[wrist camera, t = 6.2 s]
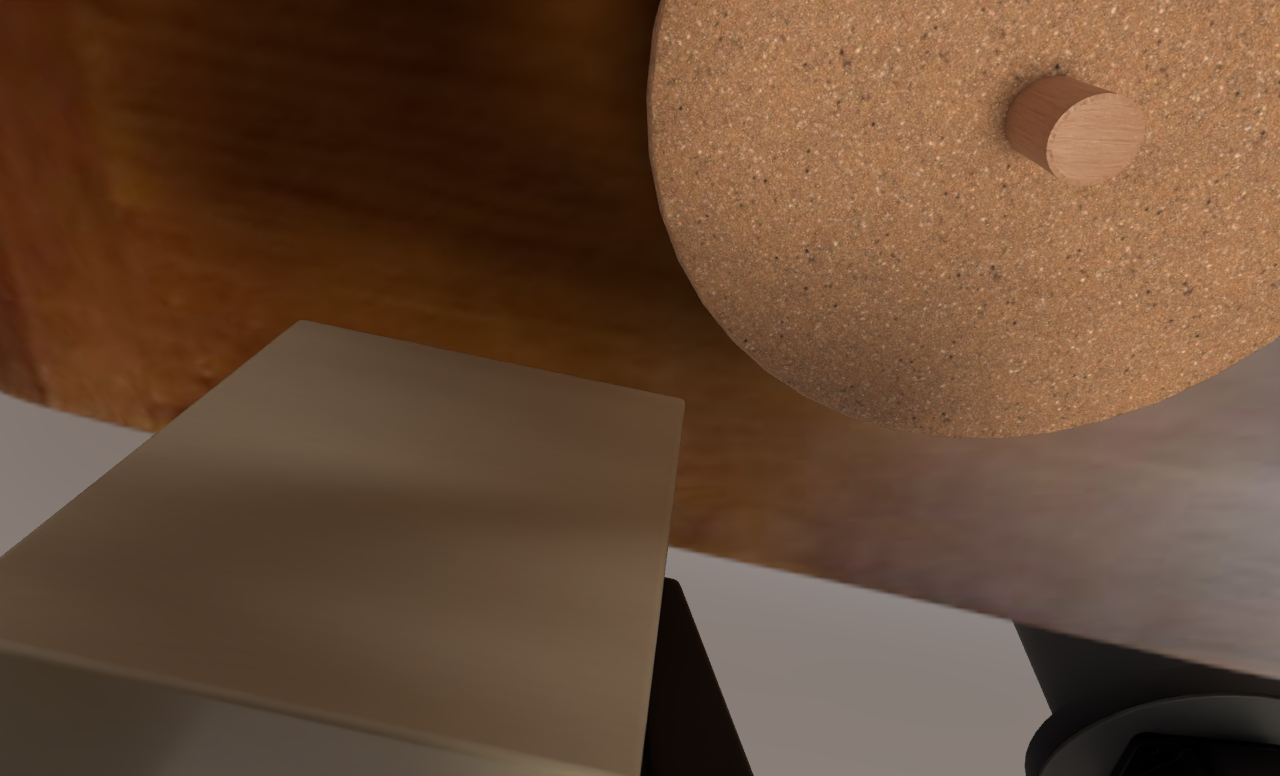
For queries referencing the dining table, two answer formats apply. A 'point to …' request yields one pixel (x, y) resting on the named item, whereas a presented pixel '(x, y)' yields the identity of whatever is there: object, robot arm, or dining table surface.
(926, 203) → the trinket box
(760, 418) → the dining table surface
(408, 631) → the block
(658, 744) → the robot arm
